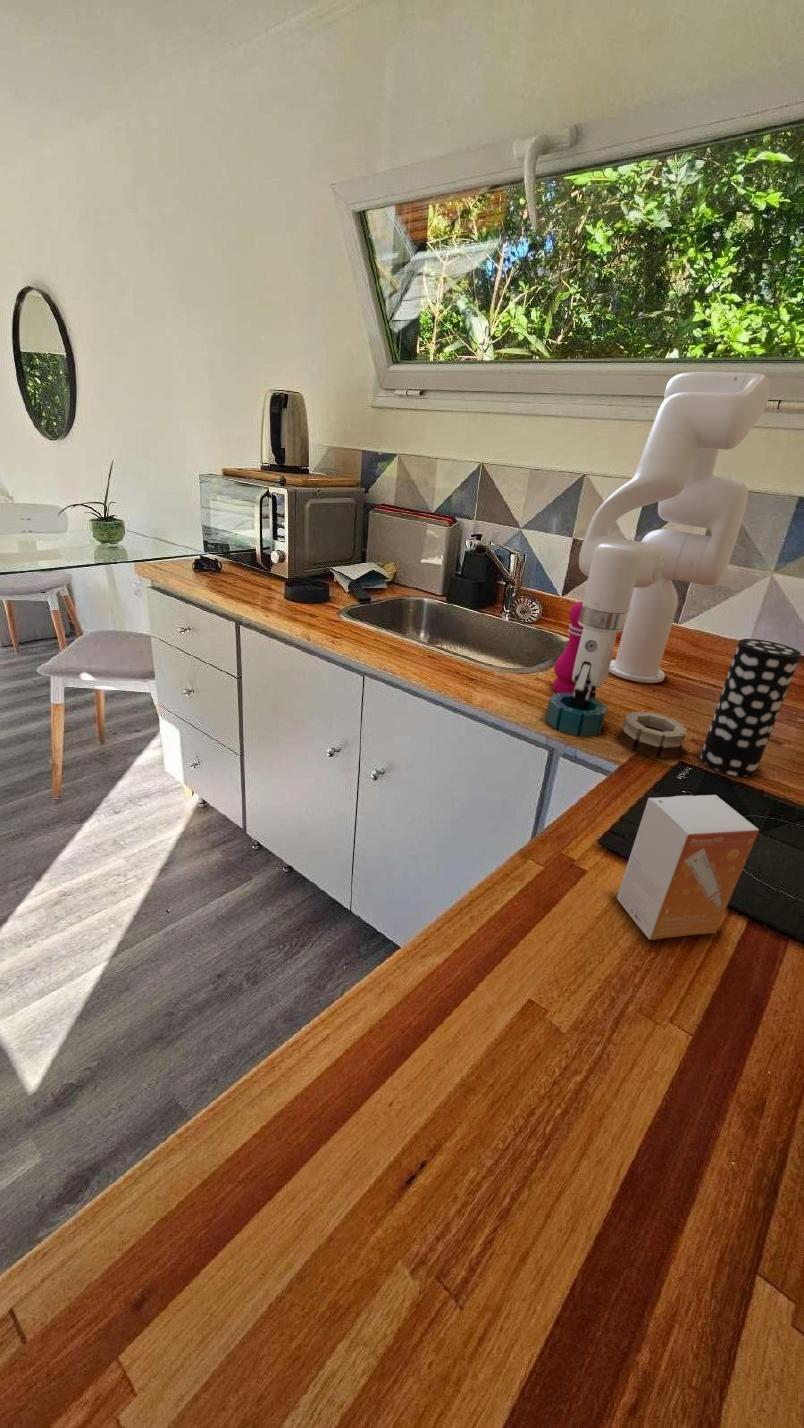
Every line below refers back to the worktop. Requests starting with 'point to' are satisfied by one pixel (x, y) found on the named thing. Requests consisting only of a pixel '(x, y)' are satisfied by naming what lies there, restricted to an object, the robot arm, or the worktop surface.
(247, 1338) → the worktop surface
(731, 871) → the small box
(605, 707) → the teal ring
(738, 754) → the spotted tube
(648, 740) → the ring stack
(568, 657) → the pepper mill
